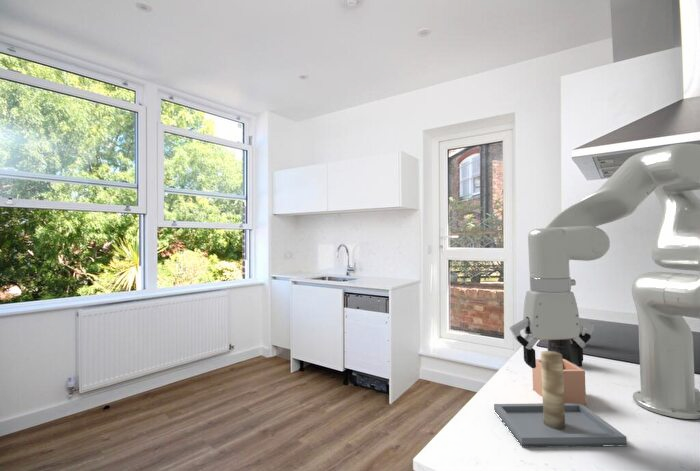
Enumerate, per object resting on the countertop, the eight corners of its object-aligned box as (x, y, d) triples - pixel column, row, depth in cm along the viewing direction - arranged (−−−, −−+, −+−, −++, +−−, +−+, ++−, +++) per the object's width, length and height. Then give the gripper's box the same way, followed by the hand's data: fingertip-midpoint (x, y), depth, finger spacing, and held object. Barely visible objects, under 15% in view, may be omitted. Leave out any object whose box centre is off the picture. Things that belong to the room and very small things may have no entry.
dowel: (558, 419, 77) (555, 350, 77) (569, 429, 73) (566, 356, 73) (540, 419, 77) (537, 351, 77) (549, 429, 73) (546, 357, 73)
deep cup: (565, 389, 93) (564, 358, 93) (586, 404, 84) (584, 370, 85) (533, 389, 93) (532, 359, 93) (550, 404, 85) (549, 371, 85)
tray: (580, 410, 81) (580, 402, 81) (626, 446, 67) (626, 436, 67) (494, 411, 82) (494, 404, 82) (521, 447, 68) (521, 437, 68)
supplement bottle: (550, 357, 117) (548, 321, 117) (573, 361, 113) (572, 324, 113) (545, 363, 112) (544, 326, 112) (570, 368, 108) (569, 329, 108)
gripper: (579, 281, 79) (583, 358, 78) (502, 284, 79) (505, 360, 79) (602, 286, 71) (606, 370, 71) (516, 289, 72) (520, 373, 71)
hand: (553, 365), depth 75 cm, fingers open, 9 cm apart
